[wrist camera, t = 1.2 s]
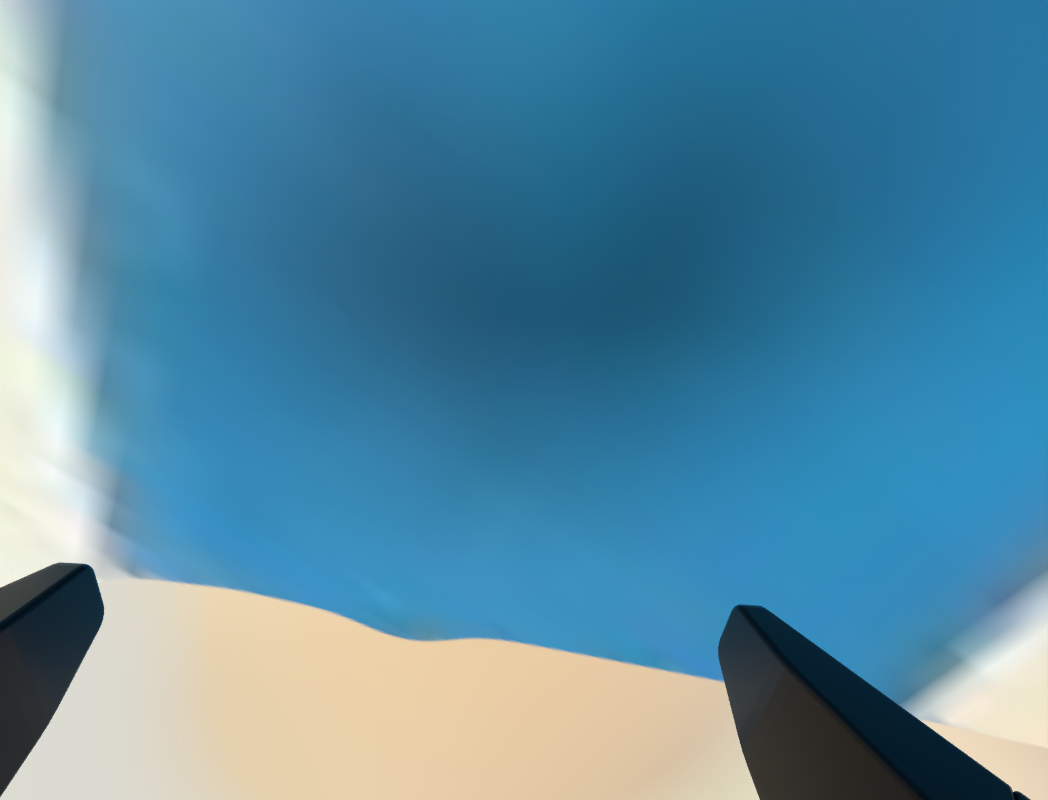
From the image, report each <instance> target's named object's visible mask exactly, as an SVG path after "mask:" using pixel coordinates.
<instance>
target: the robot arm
mask: <svg viewBox="0 0 1048 800" xmlns="http://www.w3.org/2000/svg"><path fill="white" fill-rule="evenodd" d="M103 616H104V605H103V601H102V597H101V594H100V591H99V587H98V583H97V580H96V576H95V573H94V570H93V569H92V568H91V567H90V566H89V565H87V564H77V563H56V564H53V565H51V566H48V567H46V568H44V569H42V570H39V571H37V572H35V573H33V574H30V575H28V576H26V577H24V578H21V579H19V580H17V581H14V582H12V583H10V584H8V585H5V586H3V587H1V588H0V797H1V795H2V794H3V792H4V791H5V789H6V788H7V786H8V785H9V783H10V781H11V780H12V779H13V777H14V776H15V774H16V773H17V771H18V770H19V768H20V767H21V765H22V764H23V762H24V761H25V759H26V758H27V756H28V755H29V753H30V752H31V750H32V749H33V747H34V746H35V744H36V743H37V741H38V740H39V738H40V737H41V735H42V733H43V732H44V730H45V729H46V727H47V726H48V724H49V722H50V720H51V719H52V717H53V715H54V713H55V711H56V710H57V708H58V706H59V704H60V702H61V701H62V699H63V697H64V695H65V693H66V691H67V689H68V687H69V685H70V683H71V682H72V680H73V678H74V676H75V674H76V672H77V670H78V668H79V666H80V664H81V663H82V661H83V658H84V657H85V655H86V653H87V651H88V649H89V647H90V646H91V644H92V642H93V640H94V638H95V636H96V634H97V632H98V630H99V628H100V626H101V623H102V620H103ZM718 655H719V662H720V666H721V670H722V674H723V678H724V682H725V685H726V689H727V693H728V697H729V701H730V705H731V709H732V713H733V717H734V721H735V725H736V729H737V733H738V737H739V740H740V744H741V747H742V751H743V754H744V757H745V760H746V763H747V766H748V769H749V771H750V774H751V777H752V779H753V782H754V785H755V787H756V790H757V793H758V796H759V798H760V800H1030V799H1029V798H1027V797H1026V796H1025V795H1023V794H1022V793H1020V792H1018V791H1015V792H1013V791H1012V789H1011V787H1010V786H1009V785H1008V784H1006V783H1005V782H1004V781H1002V780H1001V779H1000V778H998V777H996V776H995V775H994V774H992V773H991V772H990V771H989V770H987V769H985V768H984V767H983V766H982V765H980V764H979V763H978V762H976V761H975V760H973V759H972V758H971V757H969V756H968V755H967V754H965V753H964V752H962V751H961V750H960V749H958V748H957V747H955V746H954V745H953V744H951V743H950V742H948V741H947V740H946V739H944V738H943V737H942V736H940V735H939V734H938V733H936V732H935V731H934V730H932V729H931V728H929V727H928V726H927V725H925V724H924V723H923V722H921V721H920V720H918V719H917V718H916V717H914V716H913V715H912V714H910V713H909V712H907V711H906V710H905V709H903V708H902V707H901V706H899V705H898V704H896V703H895V702H894V701H892V700H891V699H890V698H888V697H887V696H885V695H884V694H883V693H881V692H880V691H879V690H877V689H876V688H874V687H873V686H872V685H870V684H869V683H868V682H866V681H865V680H863V679H862V678H861V677H859V676H858V675H857V674H855V673H854V672H852V671H851V670H850V669H848V668H847V667H846V666H844V665H843V664H841V663H840V662H839V661H837V660H836V659H835V658H833V657H832V656H830V655H829V654H828V653H826V652H825V651H824V650H822V649H821V648H819V647H818V646H817V645H815V644H814V643H813V642H811V641H810V640H808V639H807V638H806V637H804V636H803V635H802V634H800V633H799V632H797V631H796V630H795V629H793V628H792V627H791V626H789V625H788V624H786V623H785V622H784V621H782V620H781V619H780V618H778V617H777V616H775V615H774V614H773V613H771V612H770V611H768V610H767V609H766V608H764V607H762V606H755V605H737V606H735V607H734V608H733V610H732V611H731V614H730V616H729V619H728V621H727V624H726V626H725V628H724V631H723V633H722V636H721V638H720V641H719V646H718Z"/></svg>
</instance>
